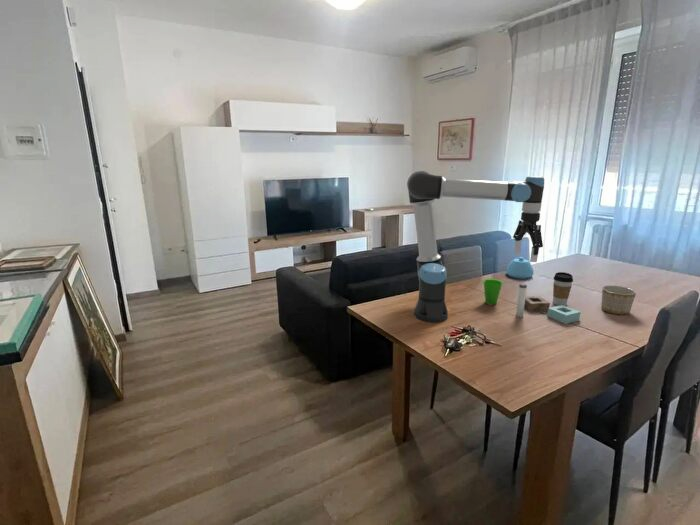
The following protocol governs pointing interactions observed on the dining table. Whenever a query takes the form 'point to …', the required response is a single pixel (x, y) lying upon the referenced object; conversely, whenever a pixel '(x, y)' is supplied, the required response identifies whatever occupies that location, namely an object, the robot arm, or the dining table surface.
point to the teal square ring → (563, 314)
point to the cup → (492, 290)
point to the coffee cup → (561, 288)
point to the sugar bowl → (520, 268)
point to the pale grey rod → (521, 300)
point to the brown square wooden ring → (536, 304)
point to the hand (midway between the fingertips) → (524, 257)
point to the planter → (617, 299)
